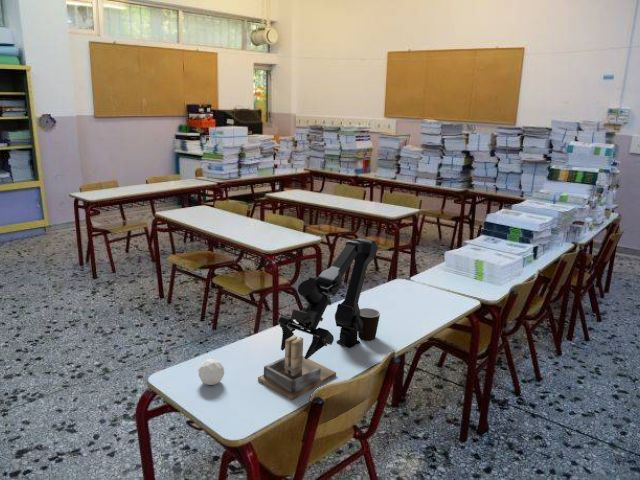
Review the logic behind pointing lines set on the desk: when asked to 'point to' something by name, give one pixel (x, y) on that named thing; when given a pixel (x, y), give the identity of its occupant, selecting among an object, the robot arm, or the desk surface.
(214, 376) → the ball
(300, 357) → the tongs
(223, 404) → the desk surface
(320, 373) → the walnut stand
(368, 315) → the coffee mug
